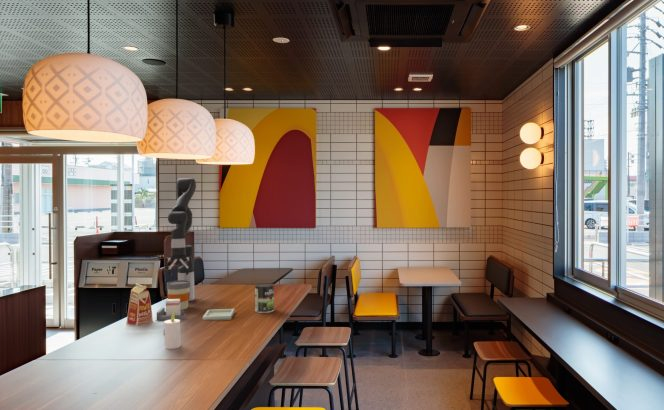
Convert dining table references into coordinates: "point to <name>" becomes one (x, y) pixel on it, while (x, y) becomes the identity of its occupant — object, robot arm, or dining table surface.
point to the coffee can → (264, 298)
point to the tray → (219, 314)
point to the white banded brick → (173, 306)
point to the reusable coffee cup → (179, 292)
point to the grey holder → (163, 317)
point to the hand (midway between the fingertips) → (178, 275)
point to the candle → (172, 333)
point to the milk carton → (139, 306)
